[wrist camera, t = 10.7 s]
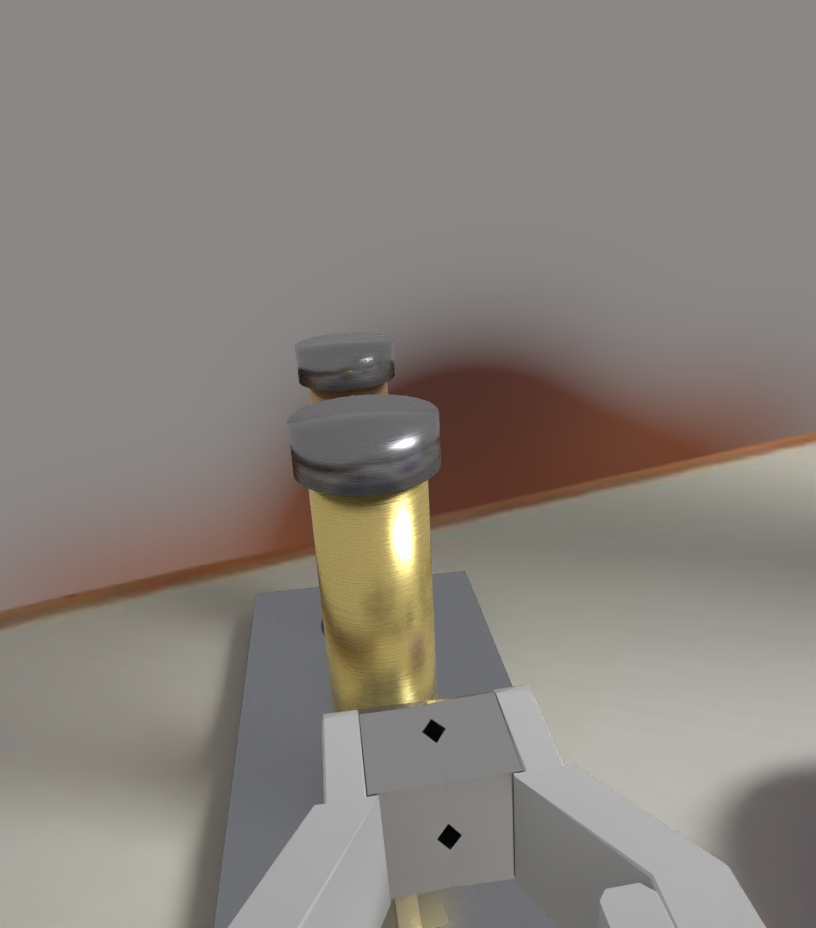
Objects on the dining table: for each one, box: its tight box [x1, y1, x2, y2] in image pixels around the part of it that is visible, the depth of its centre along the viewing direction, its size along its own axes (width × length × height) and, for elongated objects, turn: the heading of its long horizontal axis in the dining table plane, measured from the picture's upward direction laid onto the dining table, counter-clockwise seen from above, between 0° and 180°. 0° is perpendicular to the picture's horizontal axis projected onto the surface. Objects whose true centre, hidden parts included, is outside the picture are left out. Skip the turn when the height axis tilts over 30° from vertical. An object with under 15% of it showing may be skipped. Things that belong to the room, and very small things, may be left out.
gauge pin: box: [287, 394, 441, 729], centre depth 24 cm, size 4×4×15 cm
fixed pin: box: [295, 333, 395, 405], centre depth 35 cm, size 4×4×15 cm
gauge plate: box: [214, 571, 560, 928], centre depth 28 cm, size 30×12×1 cm, turn 7°
